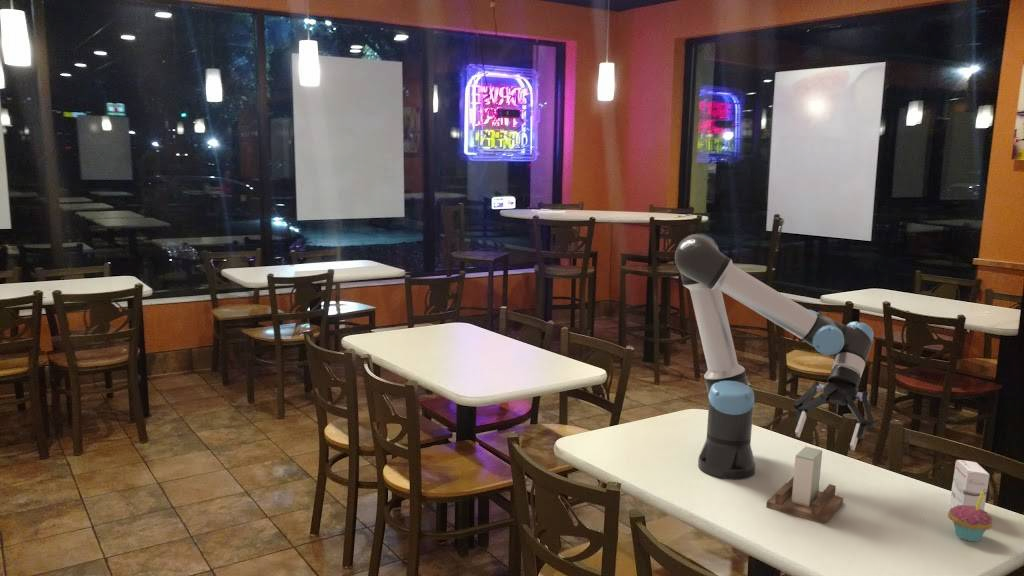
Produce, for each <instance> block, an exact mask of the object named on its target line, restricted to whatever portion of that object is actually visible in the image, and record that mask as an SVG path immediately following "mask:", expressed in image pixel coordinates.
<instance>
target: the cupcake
mask: <svg viewBox="0 0 1024 576" xmlns="http://www.w3.org/2000/svg"><path fill="white" fill-rule="evenodd" d="M984 490H985V489H984ZM984 490H983V491H981V494H980V497H979V500H978V503H977V506H973V505H971V506H970V505H969V506H967V505H965V506H964V505H960V506H955V507H953V508H952V507H951V508H950V509H949V512H948V513H947V517H948V518H949V520H950V521H952V523H953V526H954V531H955V535H956V536H957V537H958V538H959V539H961V540H965V541H967V540H968V541H967V542H974V541H975V542H979V541H981V539H982V537H983V535H985V534H984V533H985V532H986V531H987V530H990V529H991V528H992V526H993V517H992V516H990V514H988V513H987V512H986V511H985V509H984V510H982V509H980V505H981V502H982V499H983V496H984V493H985V492H984Z"/></svg>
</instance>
